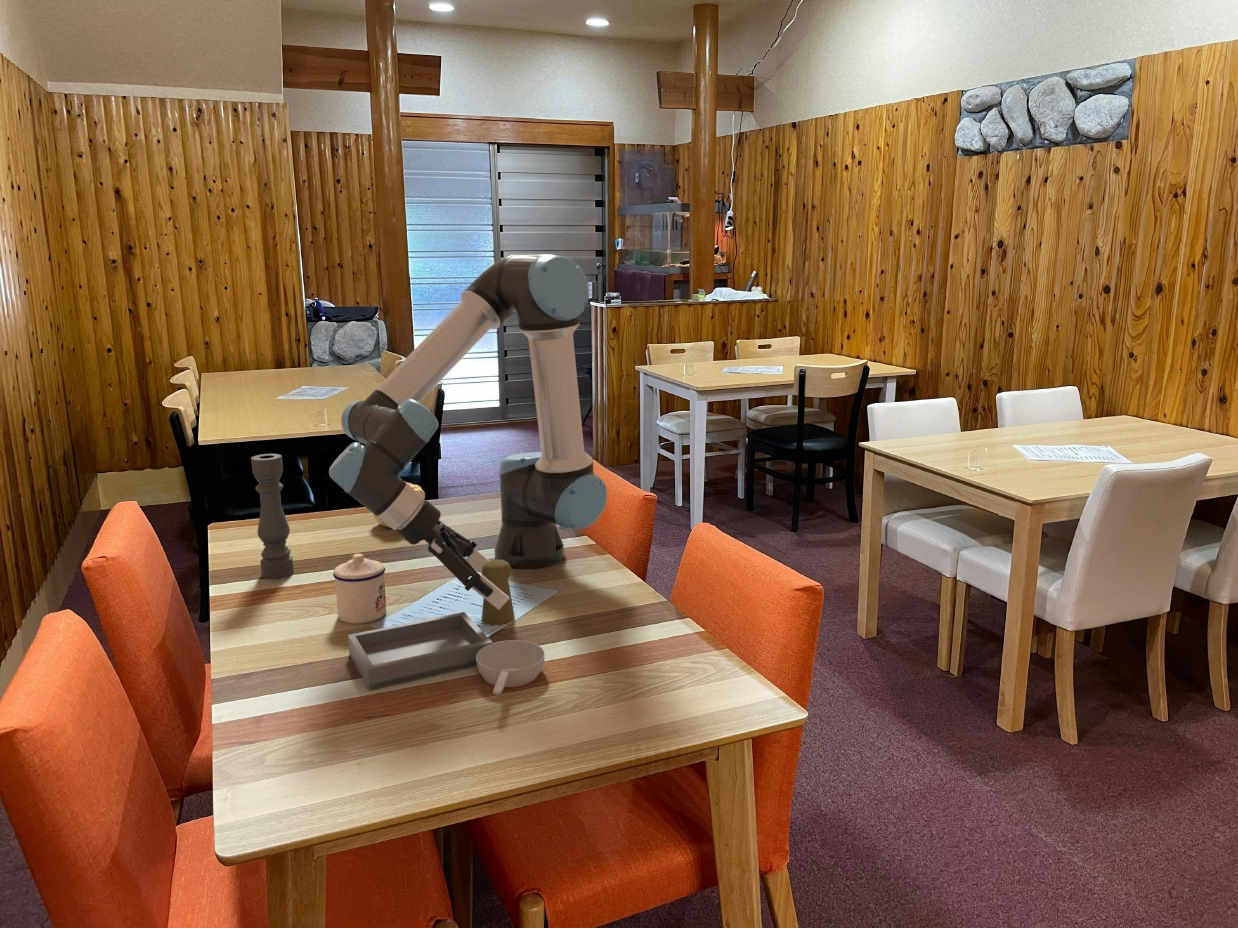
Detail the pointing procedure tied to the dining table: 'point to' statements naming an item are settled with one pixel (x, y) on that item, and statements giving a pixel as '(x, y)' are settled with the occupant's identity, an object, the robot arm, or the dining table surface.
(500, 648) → the saucepan
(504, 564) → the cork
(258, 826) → the dining table surface
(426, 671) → the tray
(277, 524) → the candle holder
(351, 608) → the teacup with lid
